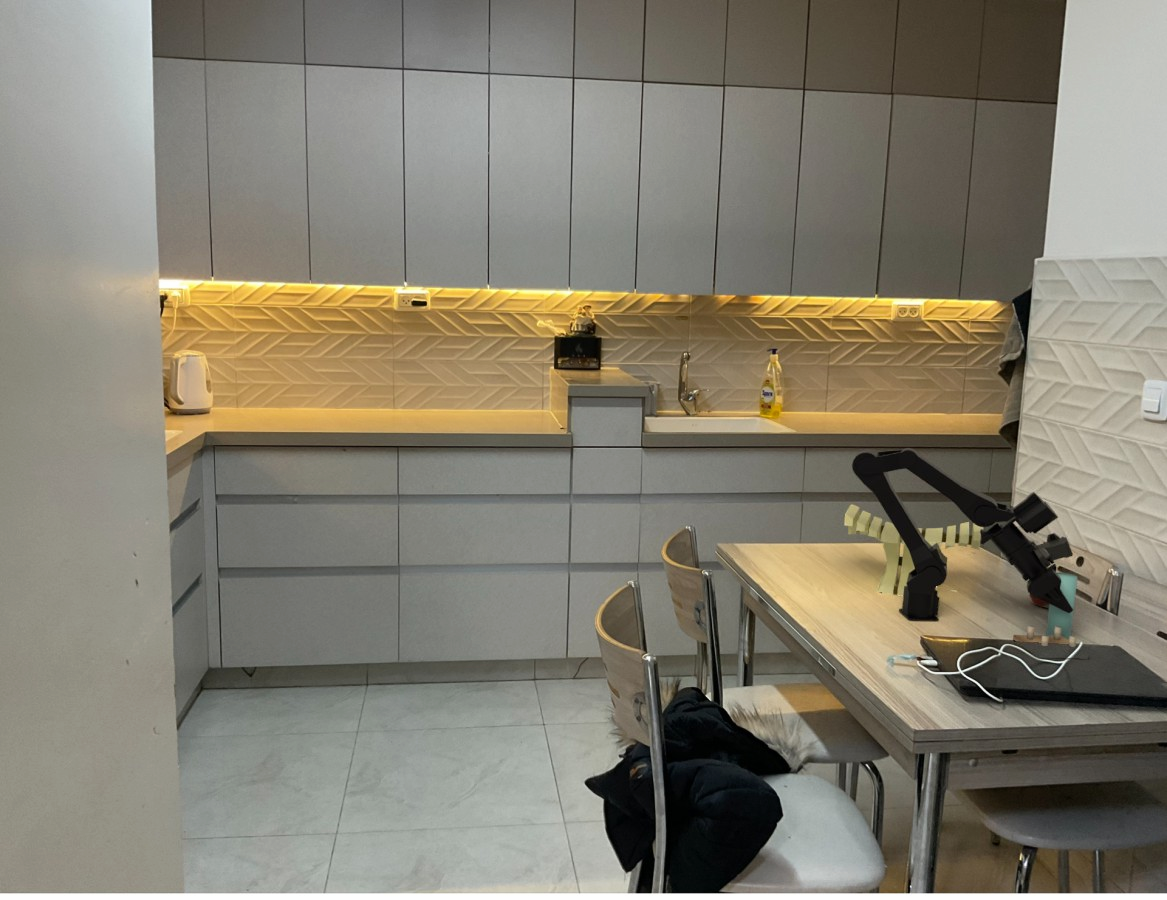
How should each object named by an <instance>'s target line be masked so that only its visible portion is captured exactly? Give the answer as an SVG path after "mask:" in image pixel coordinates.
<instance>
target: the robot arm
mask: <svg viewBox="0 0 1167 900" xmlns="http://www.w3.org/2000/svg"><path fill="white" fill-rule="evenodd" d="M851 468H852V472H853V473H854V474H855V476H856V477H857V479H859V480H860V481H861V482H862V484H863V485H864V486H865V487H866V488H867V489H869V490H870V491H871V492H872V493H873V494H874V495H875V497H876V499H877V500H878V502H879V503H880V505H881V507H882V509H883V510H884V512H885V513H886V515H887V516H888V518H889V520H890V523H893V525H894V526H895V528H896V530H897V531H898V533H899V535H900V536H901V541H902V540H903V541H904V543H905V544H906V546H907V548H908V549H909V552H910V555H911V558H912V561H913V564H914V567H915V569H914V570H912V571H911V572H910V573H909V574H908V579H907V586H904V594H903V596H902V607H901V608H899V609H898V612H899V613H900V614H901V615H902V616H904V618H906V619H908V620H909V621H923V622H924V621H928V622H938V620H939V617H938V615H939V607H940V597H939V596H938V595H939V591H938V589H937V590H936V589H935V588H936V586H937V587H939V586H941V585H942V584H944V582H945V581H946V579H947V575H948V557H947V556H946V555H944V553H943V552H942V549H941V550H940V547H939V545H938V543H936V544H934V545H933V546H931V545H930V544H929V543H928V542H927V541H926V540H925V539H924V537H923V536H922V534H921V532H920V531H919V529H918V528H919V527H918V526H917V524H916V523H915V521H914V519H913V518H912V516H911V514H910V513H909V512H908V509H907V507H906V506H905V505H904V503H903V501H902V500H901V498H900V497H899V495H898V493H897V491H896V490H895V489H894V487H893V485H892V483H891V479H890V477H889V475H888V473H889V472H894V471H898V470H903V469H905V470H908V472H911V473H912V474H914V475H915V476H916V477H918V478H919V479H920V480H921V481H924V482H925V483H926V484H928V485H929V486H930V487H932V488H933V489H934V490H936V491H938V492H939V493H940V494H942V495H943V496H945V497H946V498H947V499H949V500H950V501H952V502H953V503H954V505H955V506H957V508H958V509H959V510H960V511H961V512H962V513H963V514H964V516H965V517H967V519H969V520H970V521H971V522H972V524H973V523H974V524H975V525H977V526H979V527H983V529H981V530H980V533H981V538H980V545H984V544H986V543H987V542H989V541H991V542H992V543H993V544H994V545H995V547H997V549H998V550H999V551H1000V552H1001V554H1003V556H1004V557H1005V558H1006V559H1007V561H1008V563H1009V565H1010V566H1013V567H1014V568H1015V569H1016V571H1017V572H1019V574H1020V576H1021V578H1022V579H1023V580H1024V582H1026V583H1027V584H1026V590H1027V592H1028V593H1029V595H1030V594H1031V596H1032V597H1033V598H1034V599H1035V598H1037V599H1040V600H1042V601H1045V602H1047V603H1049V604H1051V605H1053V606H1055V607H1057V608H1059V609H1061V610H1063V611H1065V612H1067V613H1071V612H1072V611H1073V609H1072V607H1071V605H1070V604H1069V602H1068V600H1067V599H1066V597H1065V596H1064V594H1063V592H1062V591H1061V589H1060V586H1061V578H1060V577H1059V575H1058V574H1057V565H1056V563H1055V561H1057V560H1060V559H1063V558H1065V559H1067V558H1071V557H1073V556H1074V552H1073V551H1072V548H1071V545H1070V543H1069V541H1068V539H1067V537H1065V536H1061V537H1060V536H1059V535H1057V534H1056V533H1055V532H1053V533H1050V534H1047V536H1046V541H1043V543H1041V544H1040V543H1039V544H1037V543H1036V542H1035V541H1034V540H1029V538H1028V537H1027V536H1026V535H1025V534H1024V532H1025V533H1026V534H1028V533H1029V534H1031V533H1033V534H1037V533H1039V532H1040V531H1041V530H1043V529H1044V528H1046V526H1048V525H1050V524H1051V523H1052V522H1054V521H1055V520H1057V519H1058V518H1059V516H1058V514H1057V513H1056V512H1055V511H1054V510H1053V508H1052V507H1051V506H1050V505H1049V504H1048V503H1047V502H1046V501H1044V500H1043V499H1042V498H1041V496H1039V495H1038V494H1037V493H1036V492H1035V491H1032V492H1031V493H1030V494H1029V495H1027V496H1026V498H1025V499H1023V500H1022V501H1020V502H1019V503H1018V504H1017V505H1015V506H1013V505H1009V504H1004V503H1001V502H997V501H996V500H995V499H994V498H993V497H991V496H989V495H987V494H985V493H983V492H981V491H979V490H976V489H974V488H971V487H968V486H967V485H964V484H962V483H961V482H960V481H958V480H957V479H955V478H954V477H952V476H951V475H949V474H948V473H947V472H945V471H944V470H942V469H940V467H938V466H937V465H935V464H933V462H931V461H929V460H928V459H926V458H925V457H924V456H922V455H921V454H919V453H918V451H917V450H916V449H914V448H912V447H911V448H910V447H906V448H904V449H903V448H902V449H896V450H895V449H894V450H884V451H883V450H882V451H877V450H875V449H871V448H869V449H868V448H867V449H863V450H861V451H859V452H858V453H857V455H855V457H854V459H853V460H852V464H851ZM1015 522H1016V524H1017V525H1018V526H1019V527H1020V528H1019V527H1018V526H1017V525H1016V524H1015ZM987 527H989V528H988V529H984V528H987ZM1021 529H1022V531H1024V532H1022V531H1021ZM1073 612H1074V611H1073Z"/></svg>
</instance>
